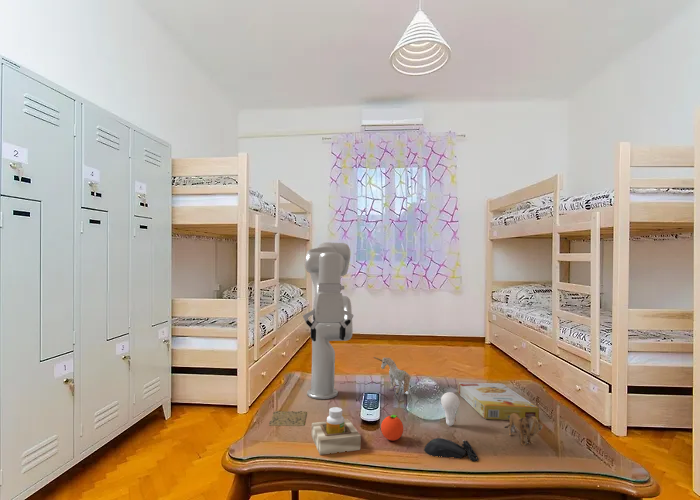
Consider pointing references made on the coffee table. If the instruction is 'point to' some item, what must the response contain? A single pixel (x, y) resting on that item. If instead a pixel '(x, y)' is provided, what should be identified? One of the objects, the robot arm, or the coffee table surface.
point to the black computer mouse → (449, 449)
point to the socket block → (335, 438)
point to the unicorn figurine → (396, 374)
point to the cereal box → (496, 401)
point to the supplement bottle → (335, 421)
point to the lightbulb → (450, 406)
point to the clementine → (392, 428)
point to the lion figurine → (524, 426)
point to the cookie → (288, 418)
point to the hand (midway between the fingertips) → (327, 339)
